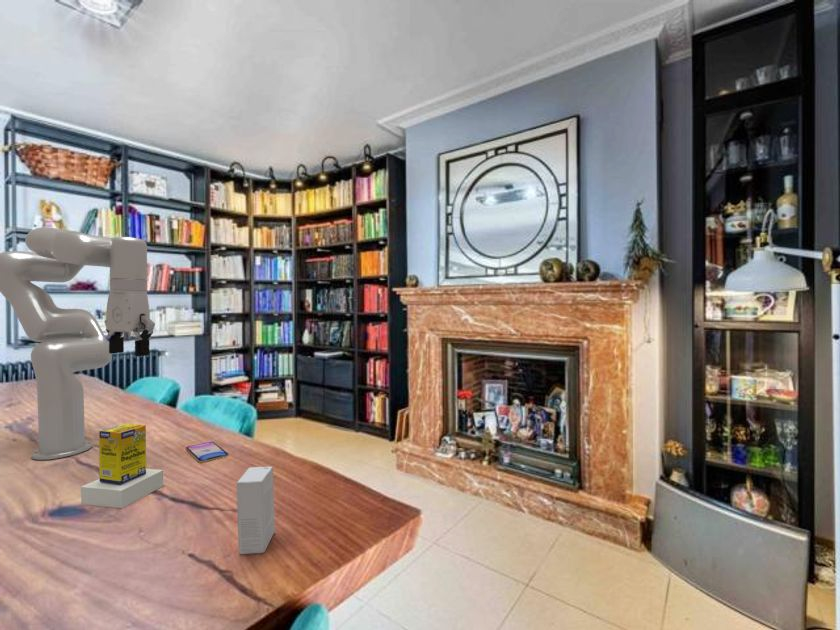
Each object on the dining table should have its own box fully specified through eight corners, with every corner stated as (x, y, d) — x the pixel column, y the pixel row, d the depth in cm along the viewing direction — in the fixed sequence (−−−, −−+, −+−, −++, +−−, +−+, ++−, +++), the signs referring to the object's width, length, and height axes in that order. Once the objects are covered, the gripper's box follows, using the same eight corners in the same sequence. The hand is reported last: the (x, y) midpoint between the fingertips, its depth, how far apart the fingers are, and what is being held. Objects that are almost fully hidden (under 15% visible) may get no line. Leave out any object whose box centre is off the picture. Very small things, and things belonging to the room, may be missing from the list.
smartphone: (213, 443, 116) (213, 440, 116) (230, 457, 106) (230, 453, 106) (184, 450, 111) (184, 446, 111) (199, 465, 100) (199, 461, 100)
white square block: (81, 506, 80) (80, 486, 80) (126, 484, 90) (126, 467, 90) (121, 510, 78) (121, 490, 78) (163, 487, 88) (163, 470, 88)
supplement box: (120, 485, 80) (119, 432, 80) (98, 482, 82) (97, 430, 82) (147, 473, 86) (146, 424, 86) (126, 471, 88) (125, 422, 88)
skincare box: (250, 533, 69) (249, 466, 69) (275, 532, 69) (273, 465, 69) (237, 555, 63) (235, 482, 63) (264, 553, 63) (263, 480, 63)
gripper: (90, 286, 98) (90, 353, 99) (136, 286, 92) (136, 358, 93) (122, 287, 105) (122, 350, 106) (167, 287, 99) (167, 355, 100)
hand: (129, 354), depth 99 cm, fingers open, 9 cm apart
